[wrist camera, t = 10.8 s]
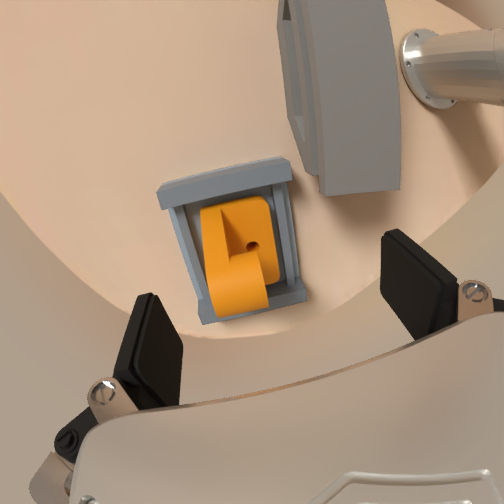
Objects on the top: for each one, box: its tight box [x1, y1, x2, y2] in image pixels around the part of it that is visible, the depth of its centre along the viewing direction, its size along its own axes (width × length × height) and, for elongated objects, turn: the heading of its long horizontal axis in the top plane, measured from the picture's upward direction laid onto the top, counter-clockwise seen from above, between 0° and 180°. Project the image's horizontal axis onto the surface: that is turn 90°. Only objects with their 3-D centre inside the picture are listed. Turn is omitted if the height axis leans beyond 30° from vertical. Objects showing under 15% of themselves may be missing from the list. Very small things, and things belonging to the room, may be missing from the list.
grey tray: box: [156, 156, 307, 325], centre depth 34 cm, size 14×18×4 cm
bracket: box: [200, 195, 280, 318], centre depth 29 cm, size 11×7×12 cm, turn 11°
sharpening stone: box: [277, 0, 401, 197], centre depth 22 cm, size 25×8×11 cm, turn 6°
